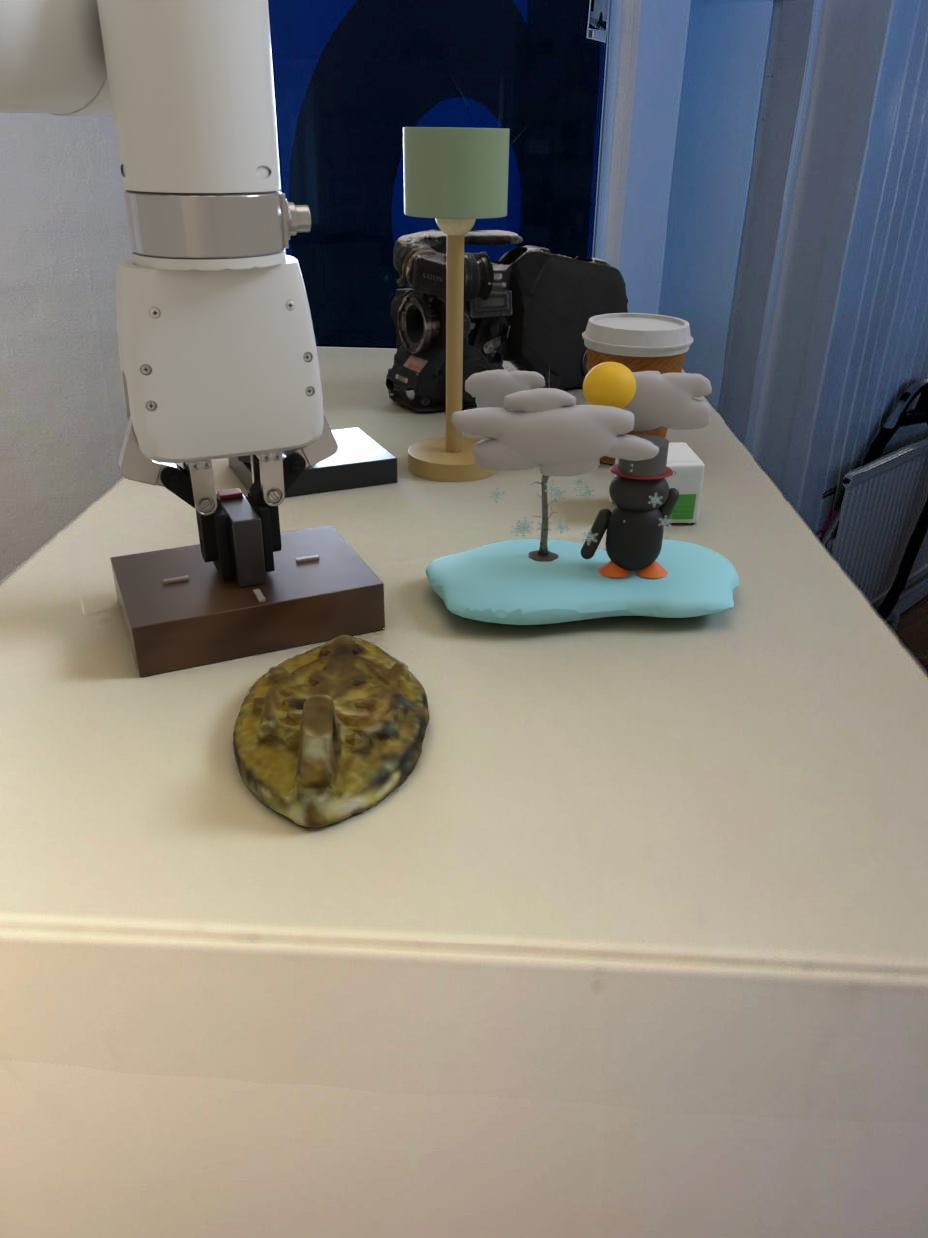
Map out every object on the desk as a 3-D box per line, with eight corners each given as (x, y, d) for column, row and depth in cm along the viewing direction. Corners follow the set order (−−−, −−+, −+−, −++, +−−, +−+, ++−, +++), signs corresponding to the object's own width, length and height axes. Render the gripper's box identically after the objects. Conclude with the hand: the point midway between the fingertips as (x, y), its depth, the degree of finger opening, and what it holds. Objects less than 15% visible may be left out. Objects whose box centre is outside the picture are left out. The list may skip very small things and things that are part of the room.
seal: (261, 673, 53) (217, 852, 39) (243, 598, 51) (191, 760, 37) (425, 653, 53) (437, 824, 40) (415, 577, 51) (424, 731, 37)
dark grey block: (267, 583, 54) (260, 514, 52) (239, 588, 53) (231, 518, 51) (247, 551, 58) (240, 486, 56) (221, 555, 57) (213, 489, 55)
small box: (625, 526, 70) (631, 463, 68) (610, 499, 76) (615, 440, 73) (699, 525, 71) (708, 463, 69) (679, 499, 76) (686, 440, 74)
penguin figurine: (713, 562, 65) (747, 337, 58) (765, 636, 55) (813, 377, 48) (424, 565, 64) (422, 336, 57) (427, 640, 54) (425, 377, 47)
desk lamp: (429, 487, 78) (427, 126, 65) (394, 460, 84) (387, 126, 72) (514, 475, 81) (528, 128, 68) (475, 449, 87) (481, 128, 75)
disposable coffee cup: (608, 478, 80) (621, 334, 75) (555, 447, 88) (563, 315, 83) (700, 465, 84) (718, 327, 78) (641, 436, 91) (654, 309, 86)
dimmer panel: (139, 677, 50) (130, 625, 49) (117, 601, 58) (109, 554, 57) (385, 629, 55) (383, 581, 54) (334, 565, 63) (331, 521, 62)
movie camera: (422, 427, 90) (424, 231, 83) (349, 395, 104) (345, 225, 97) (669, 404, 105) (689, 234, 97) (575, 378, 119) (586, 229, 112)
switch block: (252, 502, 74) (247, 453, 72) (225, 465, 82) (221, 420, 80) (397, 483, 78) (396, 436, 77) (359, 450, 87) (357, 407, 85)
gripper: (336, 221, 53) (350, 526, 61) (34, 228, 47) (96, 564, 55) (382, 234, 47) (390, 569, 55) (42, 243, 41) (110, 617, 49)
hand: (242, 564), depth 55 cm, fingers closed on dark grey block
